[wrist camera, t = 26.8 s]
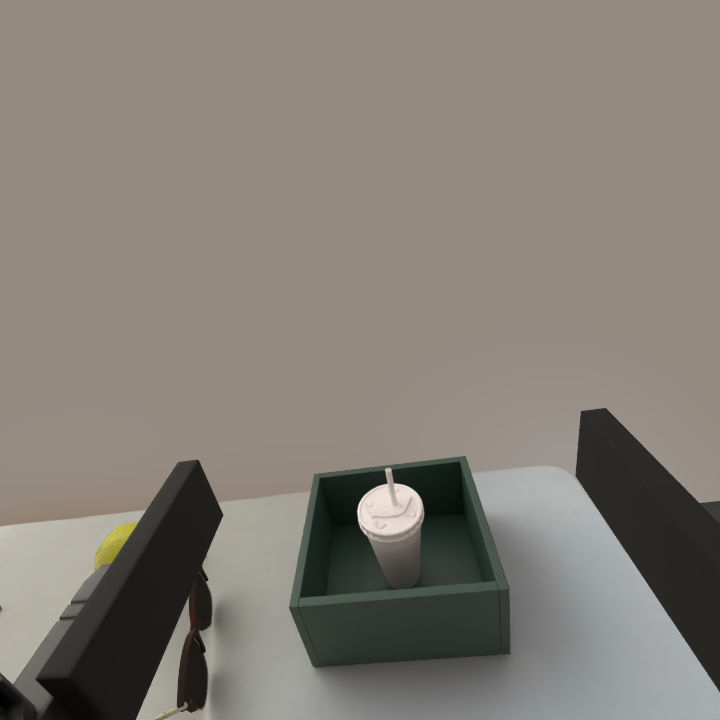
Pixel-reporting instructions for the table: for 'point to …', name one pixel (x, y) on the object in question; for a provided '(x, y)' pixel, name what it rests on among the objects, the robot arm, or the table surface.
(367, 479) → the bin
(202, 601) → the sunglasses
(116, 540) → the fruit
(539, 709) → the table surface
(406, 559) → the smoothie
